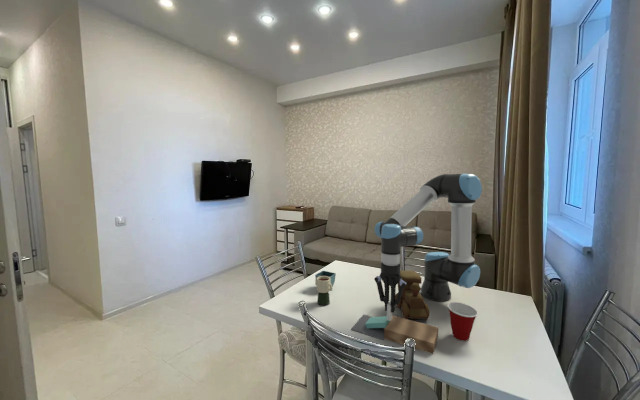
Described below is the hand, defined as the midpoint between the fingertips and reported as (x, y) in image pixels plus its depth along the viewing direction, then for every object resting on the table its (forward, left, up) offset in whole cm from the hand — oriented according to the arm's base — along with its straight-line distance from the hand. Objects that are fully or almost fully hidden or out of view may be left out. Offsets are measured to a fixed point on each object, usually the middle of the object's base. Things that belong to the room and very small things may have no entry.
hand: (389, 318), depth 111 cm
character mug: (+27, -25, -6) cm, 37 cm away
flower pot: (+26, -42, -6) cm, 50 cm away
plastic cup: (-28, +3, -6) cm, 28 cm away
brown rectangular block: (-8, +4, -5) cm, 10 cm away
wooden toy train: (-14, -16, -6) cm, 22 cm away
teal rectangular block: (+4, -2, -4) cm, 6 cm away
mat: (+6, -4, -5) cm, 9 cm away
